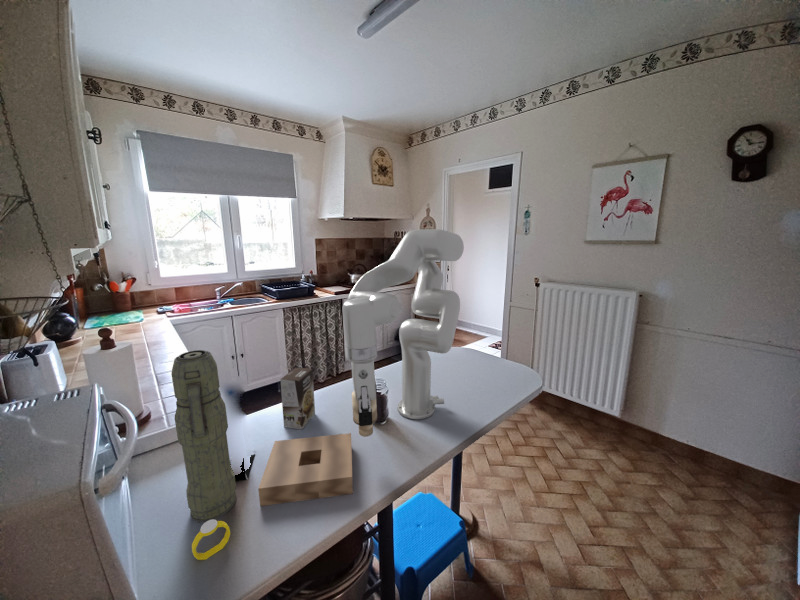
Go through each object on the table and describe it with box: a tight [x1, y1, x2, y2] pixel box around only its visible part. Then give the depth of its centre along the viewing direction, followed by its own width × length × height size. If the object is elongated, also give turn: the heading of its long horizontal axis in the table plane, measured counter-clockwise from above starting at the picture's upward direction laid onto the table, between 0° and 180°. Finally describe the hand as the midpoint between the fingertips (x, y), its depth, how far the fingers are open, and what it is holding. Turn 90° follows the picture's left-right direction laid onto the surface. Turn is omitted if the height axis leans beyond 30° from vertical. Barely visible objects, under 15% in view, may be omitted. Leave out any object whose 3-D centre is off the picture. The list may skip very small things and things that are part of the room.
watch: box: [191, 519, 231, 561], centre depth 57 cm, size 6×3×6 cm, turn 136°
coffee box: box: [280, 367, 316, 430], centre depth 97 cm, size 9×6×16 cm
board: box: [257, 432, 354, 507], centre depth 76 cm, size 20×16×4 cm
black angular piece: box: [235, 454, 256, 483], centre depth 78 cm, size 12×7×5 cm, turn 14°
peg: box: [351, 390, 378, 438], centre depth 78 cm, size 6×6×11 cm
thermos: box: [171, 349, 237, 523], centre depth 64 cm, size 9×12×35 cm
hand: (365, 416), depth 78 cm, fingers closed on peg, 6 cm apart
